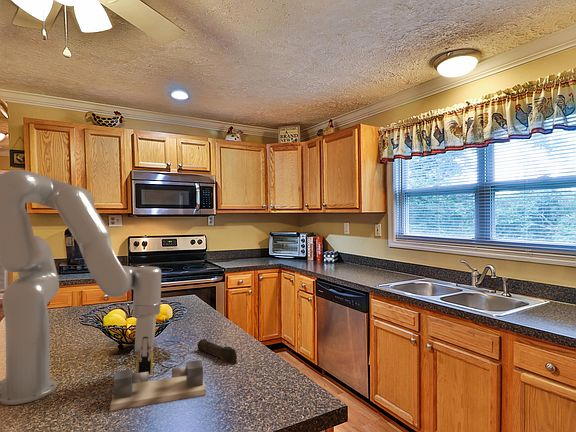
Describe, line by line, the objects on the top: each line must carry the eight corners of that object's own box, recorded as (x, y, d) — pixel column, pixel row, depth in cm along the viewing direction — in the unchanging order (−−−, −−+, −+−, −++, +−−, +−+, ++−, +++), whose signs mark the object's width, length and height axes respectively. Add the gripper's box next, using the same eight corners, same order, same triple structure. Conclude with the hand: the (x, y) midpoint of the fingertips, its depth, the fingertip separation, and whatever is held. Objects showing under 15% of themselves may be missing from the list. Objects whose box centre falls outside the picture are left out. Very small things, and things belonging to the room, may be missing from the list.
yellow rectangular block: (136, 376, 101) (136, 352, 101) (136, 371, 105) (137, 347, 105) (152, 375, 103) (153, 351, 103) (152, 369, 107) (153, 346, 107)
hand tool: (196, 351, 125) (196, 338, 125) (206, 348, 128) (206, 335, 128) (229, 367, 112) (229, 353, 112) (239, 363, 115) (239, 349, 115)
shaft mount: (110, 410, 86) (110, 384, 86) (115, 391, 96) (115, 367, 96) (205, 394, 94) (205, 370, 94) (201, 378, 104) (201, 356, 104)
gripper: (135, 302, 111) (133, 361, 111) (130, 317, 95) (128, 385, 95) (160, 301, 113) (158, 358, 113) (160, 315, 97) (158, 382, 97)
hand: (144, 370), depth 104 cm, fingers closed on yellow rectangular block, 4 cm apart
